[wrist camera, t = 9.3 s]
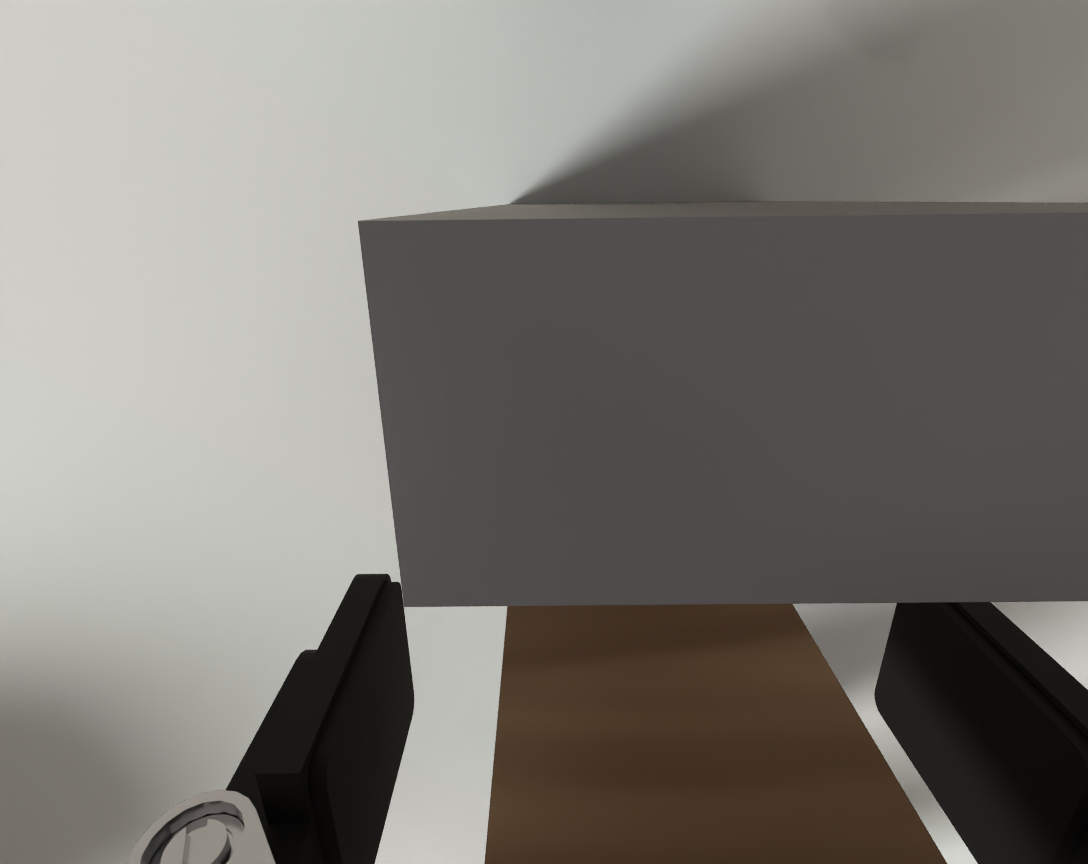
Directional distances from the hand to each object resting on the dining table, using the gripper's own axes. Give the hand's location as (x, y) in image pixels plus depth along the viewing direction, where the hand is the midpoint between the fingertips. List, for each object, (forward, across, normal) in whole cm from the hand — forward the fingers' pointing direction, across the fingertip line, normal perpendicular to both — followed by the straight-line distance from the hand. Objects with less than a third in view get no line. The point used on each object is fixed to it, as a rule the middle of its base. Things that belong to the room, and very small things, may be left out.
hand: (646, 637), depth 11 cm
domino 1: (+4, 0, -6) cm, 7 cm away
